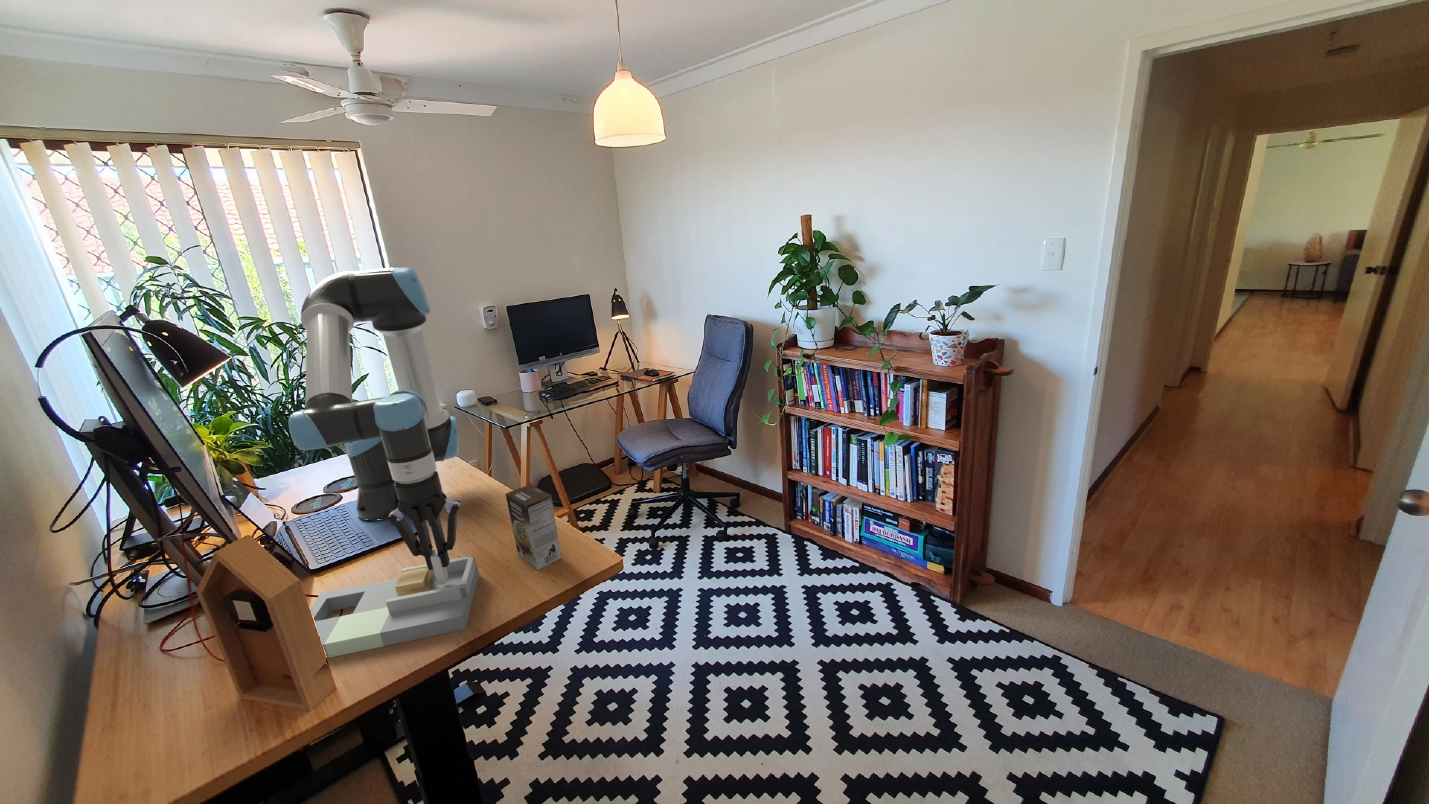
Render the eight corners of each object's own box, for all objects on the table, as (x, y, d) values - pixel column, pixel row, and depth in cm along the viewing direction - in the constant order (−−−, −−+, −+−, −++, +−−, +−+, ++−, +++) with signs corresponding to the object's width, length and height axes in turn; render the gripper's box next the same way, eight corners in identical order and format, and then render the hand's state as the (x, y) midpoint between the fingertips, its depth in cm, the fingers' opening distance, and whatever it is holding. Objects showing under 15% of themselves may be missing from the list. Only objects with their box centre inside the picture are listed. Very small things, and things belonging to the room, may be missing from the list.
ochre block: (406, 586, 111) (402, 571, 110) (433, 581, 112) (429, 566, 111) (399, 601, 106) (395, 586, 105) (427, 596, 107) (422, 581, 106)
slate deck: (325, 605, 111) (317, 582, 110) (479, 575, 118) (474, 554, 116) (284, 667, 96) (274, 642, 94) (465, 629, 102) (459, 605, 100)
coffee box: (516, 556, 124) (503, 493, 119) (541, 543, 128) (530, 482, 123) (537, 571, 118) (524, 506, 113) (563, 557, 122) (551, 494, 117)
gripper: (370, 490, 97) (402, 598, 105) (448, 478, 100) (474, 584, 108) (383, 472, 104) (413, 575, 112) (456, 462, 107) (479, 563, 115)
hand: (443, 580), depth 110 cm, fingers closed
